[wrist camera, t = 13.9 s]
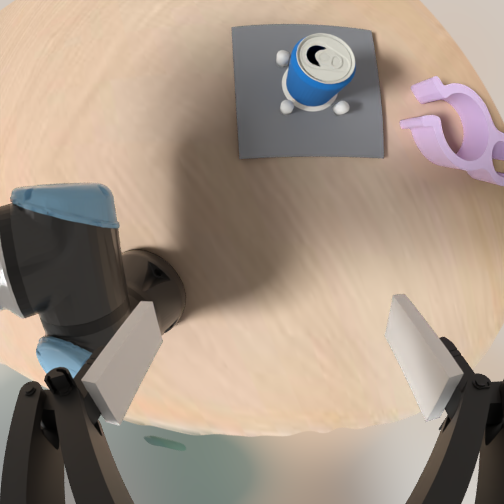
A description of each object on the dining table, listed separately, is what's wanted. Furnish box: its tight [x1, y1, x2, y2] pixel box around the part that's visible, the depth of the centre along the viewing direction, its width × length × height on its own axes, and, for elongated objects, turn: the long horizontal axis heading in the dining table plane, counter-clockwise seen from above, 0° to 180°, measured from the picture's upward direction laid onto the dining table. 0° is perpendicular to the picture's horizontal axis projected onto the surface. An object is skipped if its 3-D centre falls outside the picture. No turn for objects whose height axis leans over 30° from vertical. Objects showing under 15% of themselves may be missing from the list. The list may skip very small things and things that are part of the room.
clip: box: [400, 76, 504, 186], centre depth 30 cm, size 20×12×7 cm, turn 70°
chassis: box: [232, 24, 384, 159], centre depth 31 cm, size 20×20×4 cm
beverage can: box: [286, 33, 356, 107], centre depth 26 cm, size 6×6×12 cm
